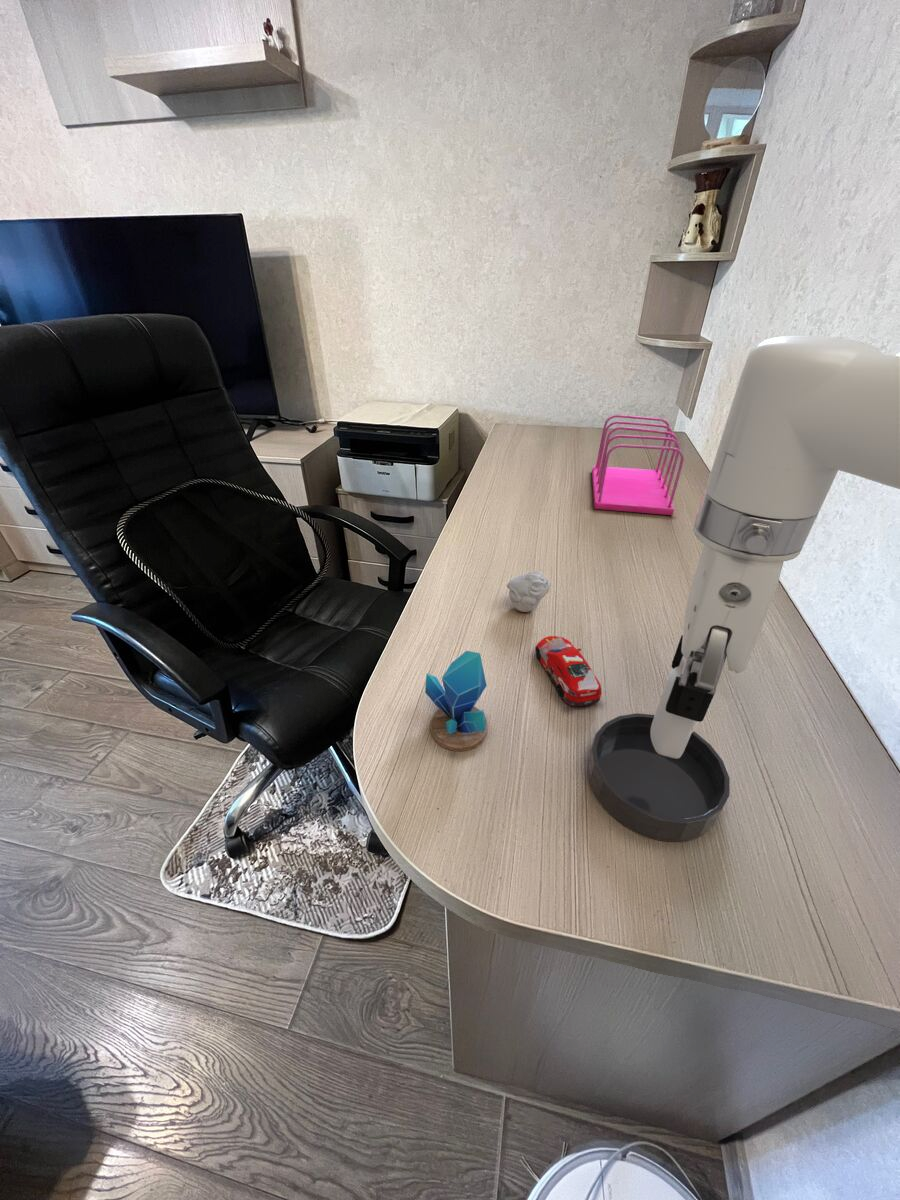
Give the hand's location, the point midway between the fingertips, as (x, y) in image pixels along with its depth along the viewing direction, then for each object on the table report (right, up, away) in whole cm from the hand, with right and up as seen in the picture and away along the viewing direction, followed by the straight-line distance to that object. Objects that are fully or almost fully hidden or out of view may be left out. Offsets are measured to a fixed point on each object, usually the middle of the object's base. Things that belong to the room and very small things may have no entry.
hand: (686, 690), depth 48 cm
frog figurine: (-10, +7, +36) cm, 38 cm away
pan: (0, -12, +8) cm, 14 cm away
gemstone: (-22, -7, +15) cm, 27 cm away
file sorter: (+22, +36, +77) cm, 88 cm away
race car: (-6, -2, +22) cm, 23 cm away
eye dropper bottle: (0, -6, +4) cm, 7 cm away
